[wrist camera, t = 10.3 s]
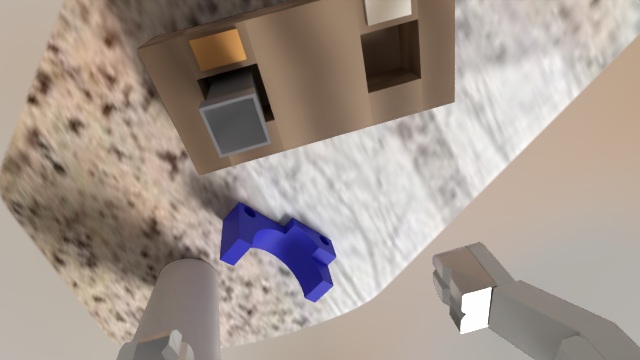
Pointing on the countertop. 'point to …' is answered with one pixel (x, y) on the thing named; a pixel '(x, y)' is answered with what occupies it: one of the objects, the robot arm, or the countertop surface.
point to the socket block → (309, 69)
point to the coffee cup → (185, 307)
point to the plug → (235, 112)
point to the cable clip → (280, 247)
